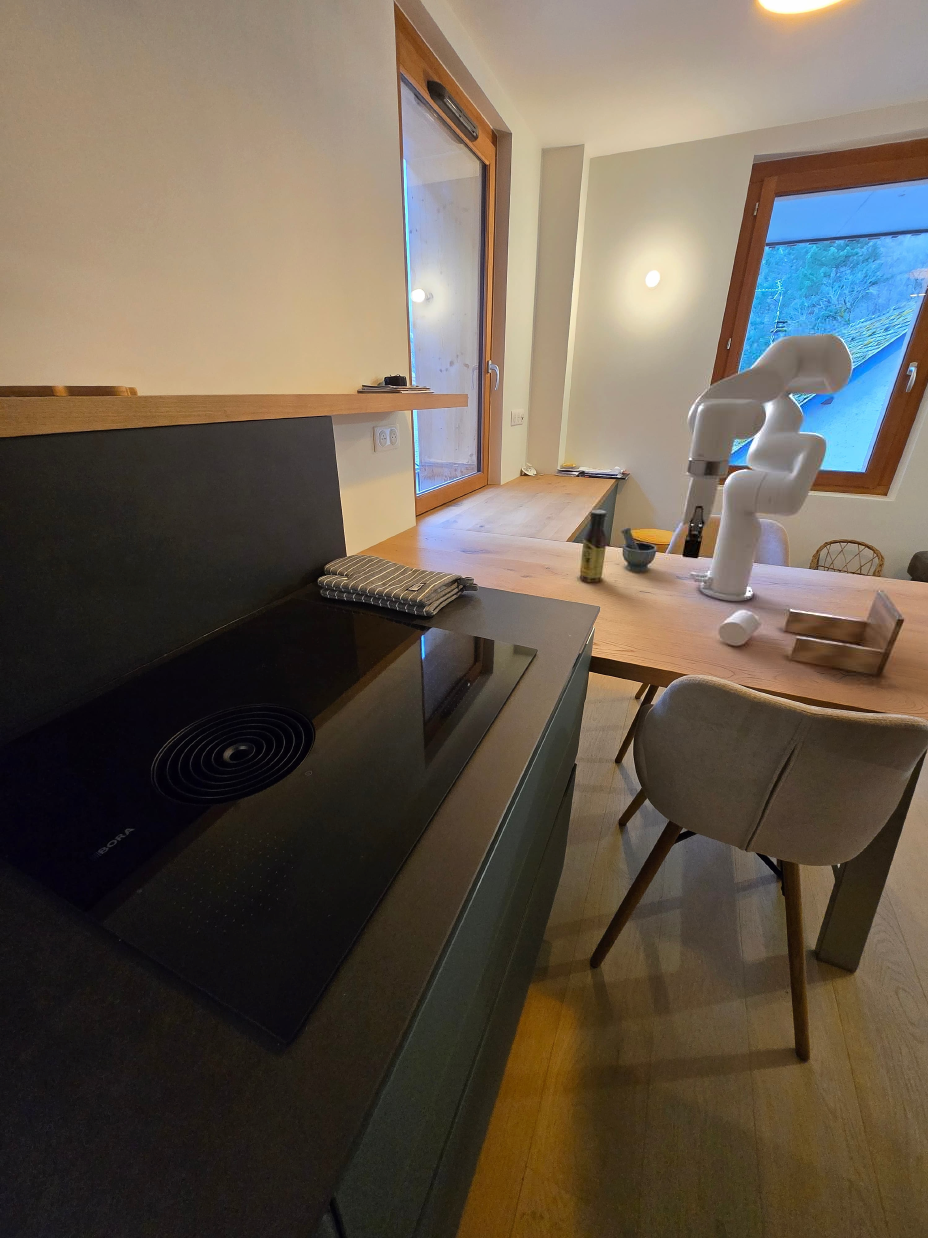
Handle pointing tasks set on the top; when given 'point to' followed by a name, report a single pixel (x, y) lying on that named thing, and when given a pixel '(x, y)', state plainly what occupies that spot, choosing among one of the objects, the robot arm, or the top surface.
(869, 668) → the u-shaped wooden enclosure
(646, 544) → the mortar and pestle
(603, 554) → the sauce bottle
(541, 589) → the top surface
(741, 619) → the roll
